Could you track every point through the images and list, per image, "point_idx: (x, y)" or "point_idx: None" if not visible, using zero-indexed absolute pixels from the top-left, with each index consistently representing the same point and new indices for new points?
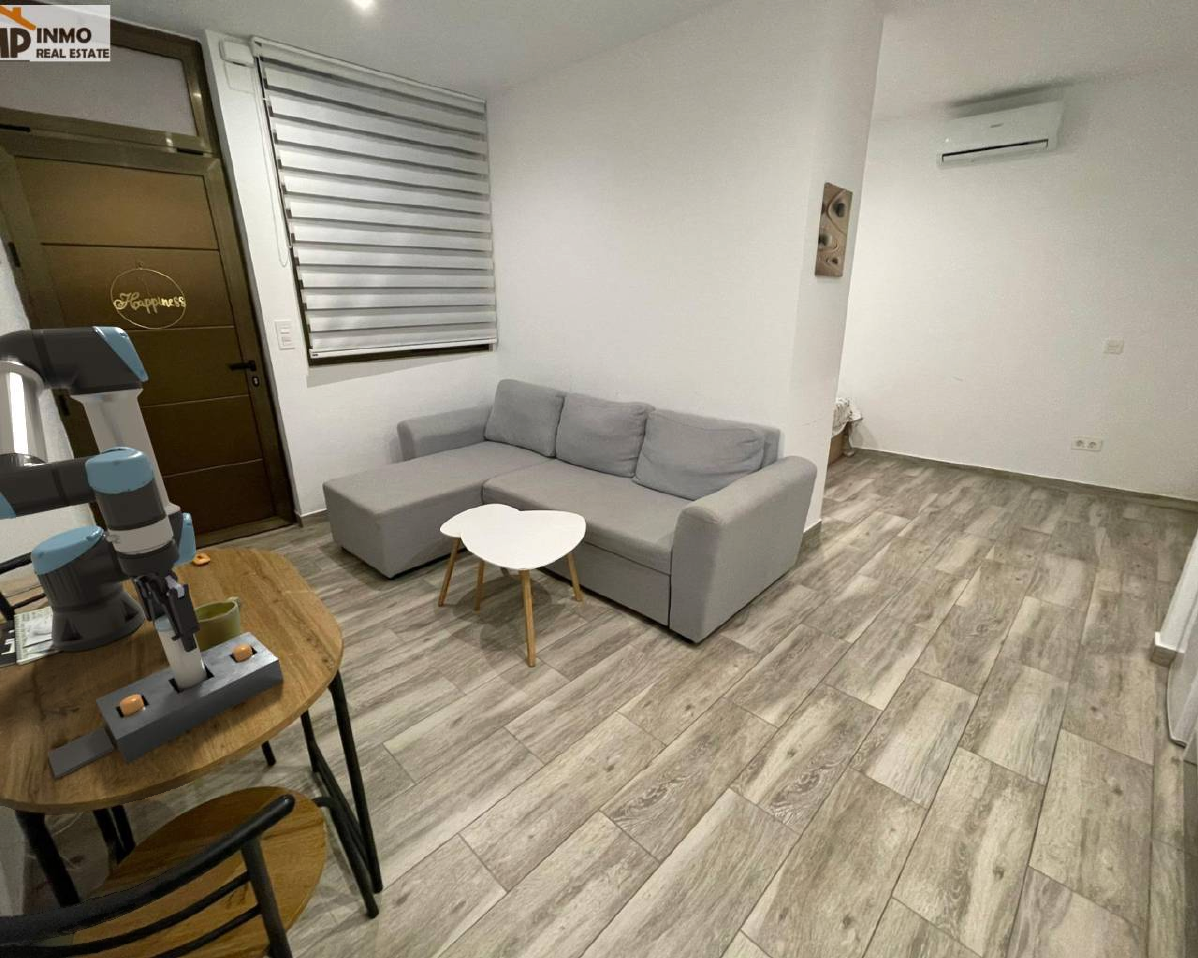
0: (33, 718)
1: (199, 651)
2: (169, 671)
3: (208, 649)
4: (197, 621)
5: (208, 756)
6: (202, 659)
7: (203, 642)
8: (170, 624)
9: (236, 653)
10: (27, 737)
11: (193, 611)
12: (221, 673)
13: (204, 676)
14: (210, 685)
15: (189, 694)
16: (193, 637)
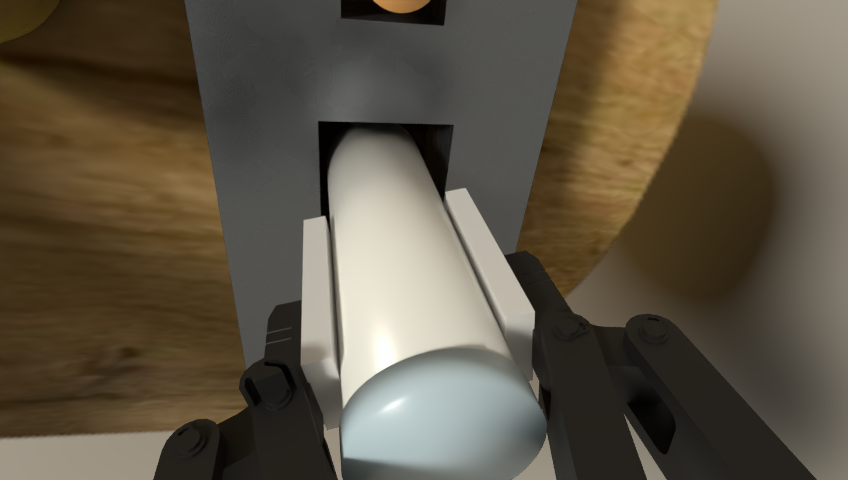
0: (93, 409)
1: (480, 216)
2: (261, 223)
3: (196, 63)
4: (719, 376)
5: (621, 194)
6: (465, 188)
7: (15, 23)
8: (527, 460)
9: (421, 7)
10: (179, 413)
11: (806, 477)
12: (459, 100)
13: (416, 150)
14: (495, 154)
15: None
16: (563, 301)
